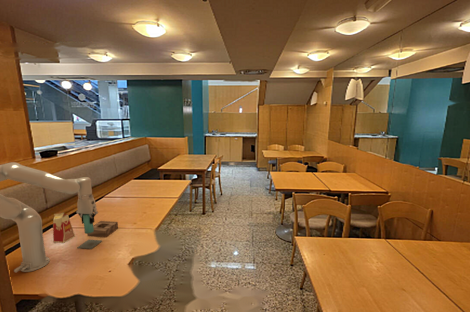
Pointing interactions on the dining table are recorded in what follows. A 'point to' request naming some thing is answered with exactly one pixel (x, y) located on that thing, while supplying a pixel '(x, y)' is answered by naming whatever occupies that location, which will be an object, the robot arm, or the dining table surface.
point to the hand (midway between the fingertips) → (88, 222)
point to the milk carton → (62, 228)
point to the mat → (89, 244)
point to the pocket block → (103, 228)
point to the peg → (87, 224)
